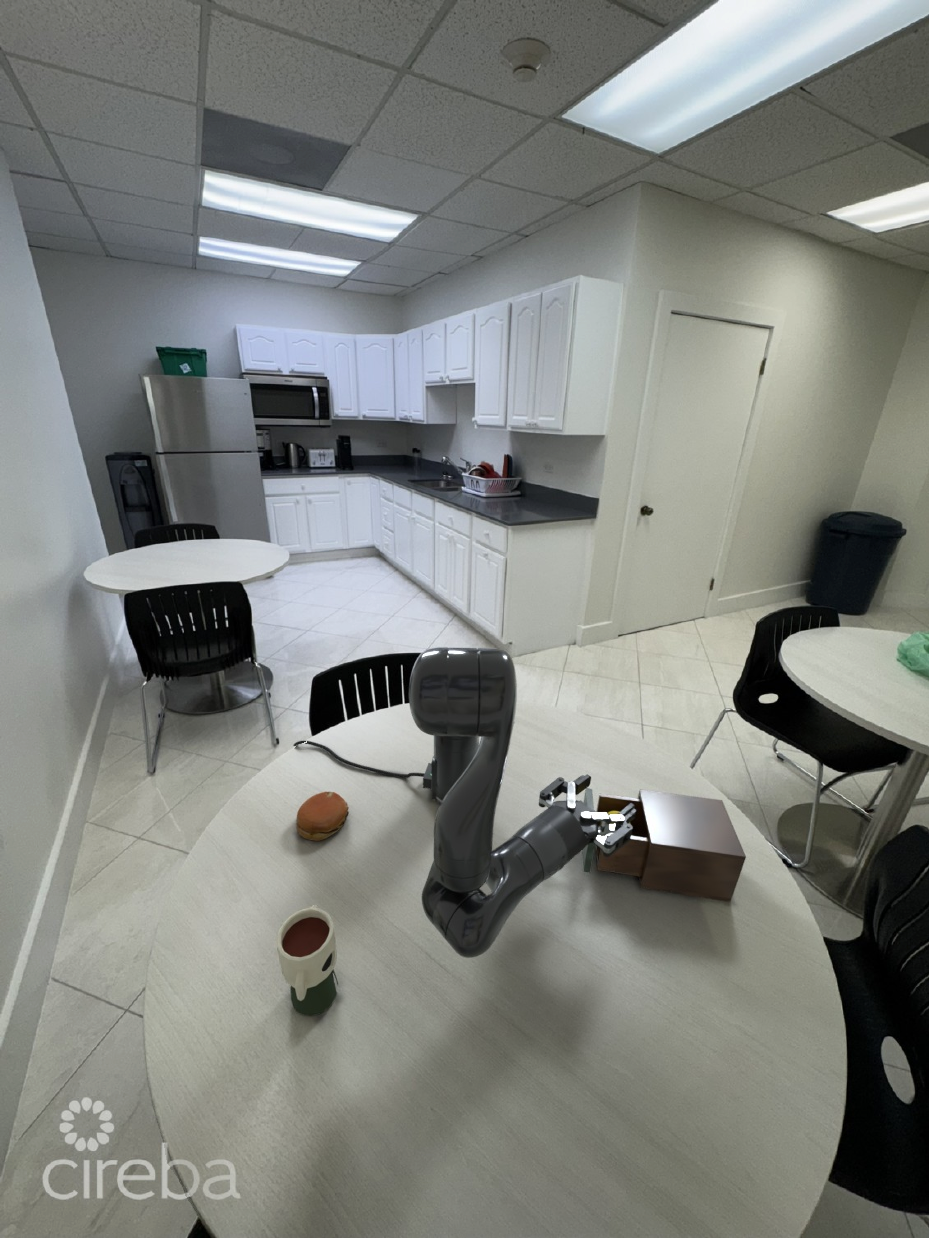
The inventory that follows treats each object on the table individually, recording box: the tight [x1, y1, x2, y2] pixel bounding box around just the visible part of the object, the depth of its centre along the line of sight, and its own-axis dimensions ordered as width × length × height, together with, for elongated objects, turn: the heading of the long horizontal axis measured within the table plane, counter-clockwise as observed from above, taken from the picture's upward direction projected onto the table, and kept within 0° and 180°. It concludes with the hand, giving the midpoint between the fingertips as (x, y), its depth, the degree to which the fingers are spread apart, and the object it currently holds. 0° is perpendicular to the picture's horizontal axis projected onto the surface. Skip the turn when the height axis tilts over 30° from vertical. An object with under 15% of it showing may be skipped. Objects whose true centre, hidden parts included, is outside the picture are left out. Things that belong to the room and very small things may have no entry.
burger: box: [295, 791, 350, 842], centre depth 96 cm, size 10×9×5 cm
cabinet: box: [637, 788, 747, 903], centre depth 87 cm, size 15×13×11 cm
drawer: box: [581, 787, 650, 877], centre depth 89 cm, size 18×11×9 cm, turn 80°
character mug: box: [276, 904, 339, 1017], centre depth 66 cm, size 11×7×13 cm, turn 5°
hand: (610, 793), depth 82 cm, fingers open, 8 cm apart
